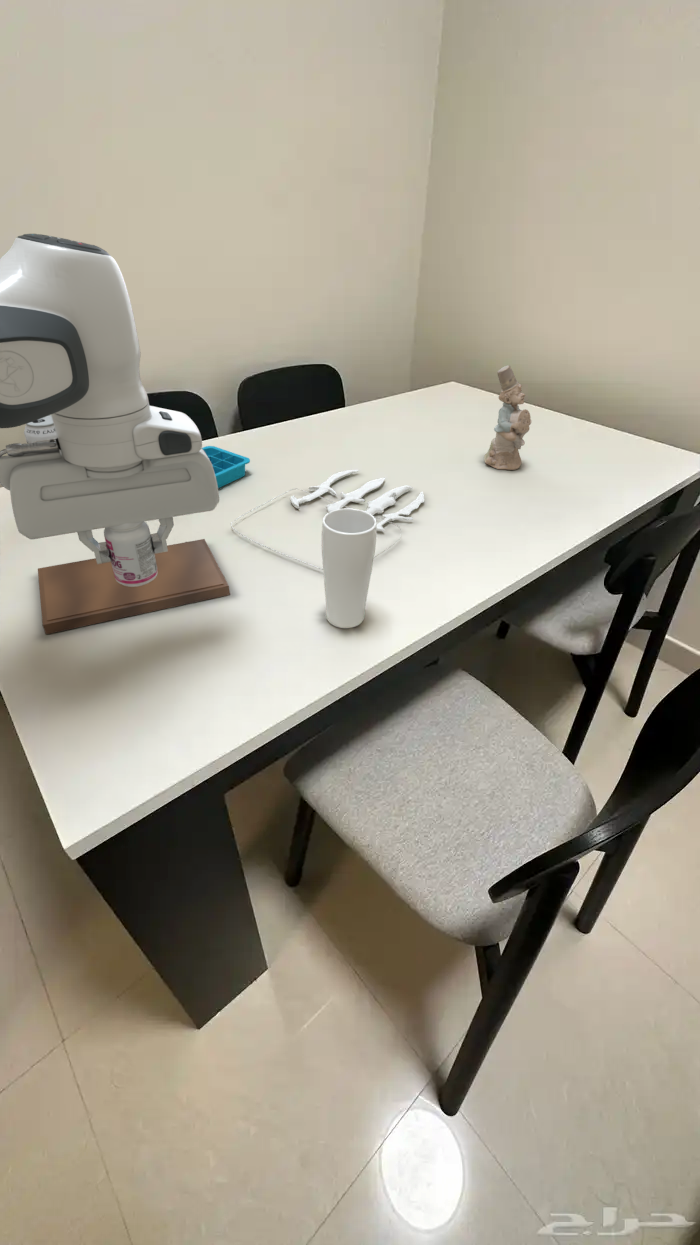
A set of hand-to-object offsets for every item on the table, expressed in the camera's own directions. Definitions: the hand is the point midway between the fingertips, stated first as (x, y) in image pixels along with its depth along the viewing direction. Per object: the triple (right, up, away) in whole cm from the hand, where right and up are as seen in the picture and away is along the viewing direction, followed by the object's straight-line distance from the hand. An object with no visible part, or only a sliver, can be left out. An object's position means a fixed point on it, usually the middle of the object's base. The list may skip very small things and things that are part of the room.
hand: (132, 555), depth 65 cm
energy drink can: (-25, +13, +36) cm, 46 cm away
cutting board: (-7, -2, +18) cm, 19 cm away
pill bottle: (0, -2, +2) cm, 3 cm away
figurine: (+57, +27, +60) cm, 87 cm away
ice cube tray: (-5, +19, +46) cm, 50 cm away
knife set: (+23, +11, +38) cm, 46 cm away
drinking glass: (+24, -7, +15) cm, 29 cm away
